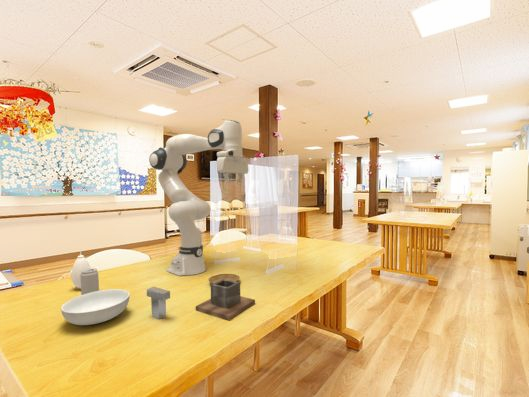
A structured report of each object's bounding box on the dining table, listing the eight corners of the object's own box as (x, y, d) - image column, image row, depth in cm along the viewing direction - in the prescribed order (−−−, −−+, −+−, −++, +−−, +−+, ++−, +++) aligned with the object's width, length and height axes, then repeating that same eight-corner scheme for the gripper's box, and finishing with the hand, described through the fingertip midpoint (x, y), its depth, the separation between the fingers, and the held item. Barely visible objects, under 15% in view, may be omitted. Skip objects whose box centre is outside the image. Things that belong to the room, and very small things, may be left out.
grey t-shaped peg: (147, 314, 100) (146, 289, 100) (154, 311, 103) (153, 286, 102) (163, 320, 95) (162, 293, 95) (170, 317, 98) (169, 291, 98)
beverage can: (102, 296, 119) (101, 268, 118) (89, 301, 113) (87, 273, 112) (91, 294, 121) (90, 267, 121) (77, 300, 115) (76, 271, 115)
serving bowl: (115, 301, 113) (115, 284, 113) (140, 315, 100) (140, 297, 100) (53, 321, 97) (52, 301, 97) (73, 341, 84) (72, 319, 84)
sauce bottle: (70, 288, 129) (68, 250, 128) (89, 284, 134) (87, 247, 134) (74, 292, 123) (72, 252, 123) (94, 287, 129) (92, 249, 128)
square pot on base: (195, 310, 103) (194, 286, 103) (223, 295, 117) (223, 274, 116) (228, 320, 95) (228, 294, 94) (254, 303, 108) (254, 280, 108)
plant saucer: (202, 287, 128) (202, 281, 128) (218, 277, 142) (218, 272, 142) (231, 290, 123) (230, 285, 123) (244, 280, 137) (244, 274, 136)
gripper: (241, 156, 144) (241, 182, 144) (214, 152, 126) (214, 182, 127) (251, 155, 140) (251, 182, 141) (224, 151, 123) (225, 182, 124)
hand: (234, 182), depth 134 cm, fingers open, 8 cm apart
